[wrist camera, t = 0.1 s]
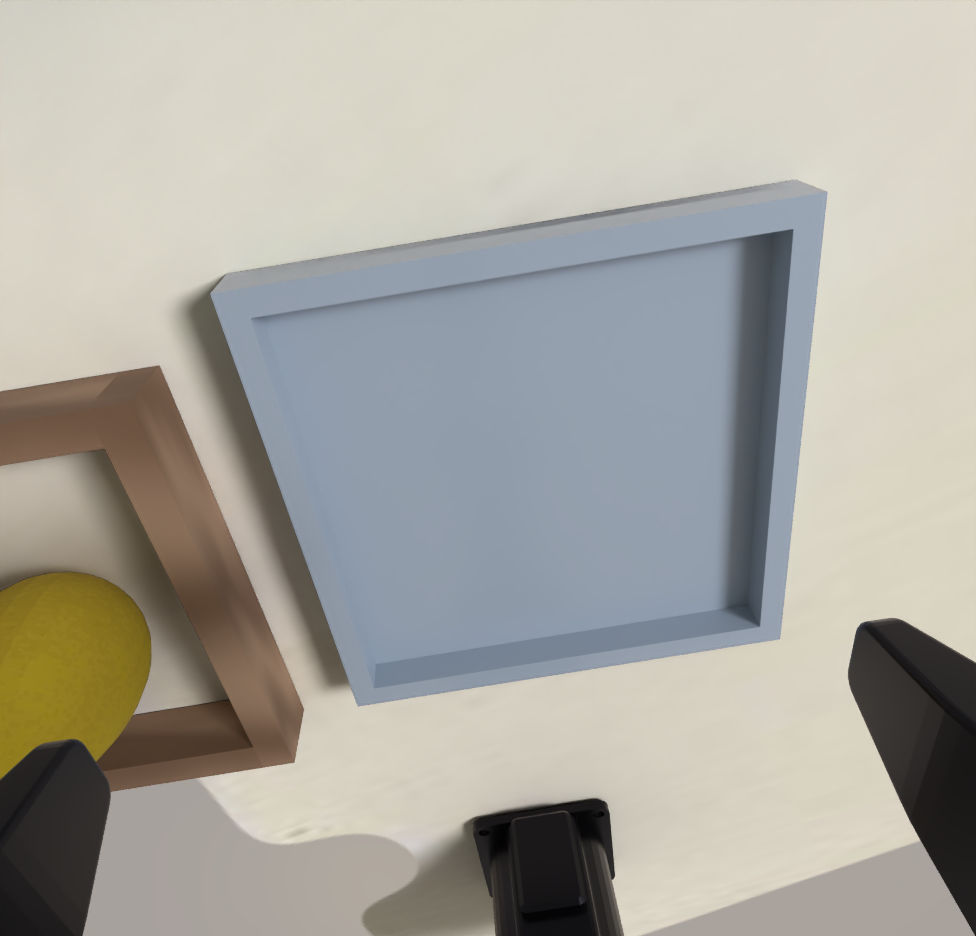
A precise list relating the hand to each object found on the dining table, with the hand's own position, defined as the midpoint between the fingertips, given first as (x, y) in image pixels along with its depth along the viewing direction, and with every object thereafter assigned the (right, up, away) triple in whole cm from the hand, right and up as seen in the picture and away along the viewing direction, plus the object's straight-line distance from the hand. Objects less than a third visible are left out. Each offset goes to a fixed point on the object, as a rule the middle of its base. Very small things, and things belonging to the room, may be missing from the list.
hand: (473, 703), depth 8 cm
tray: (+2, +3, +16) cm, 16 cm away
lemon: (-14, -1, +17) cm, 22 cm away
